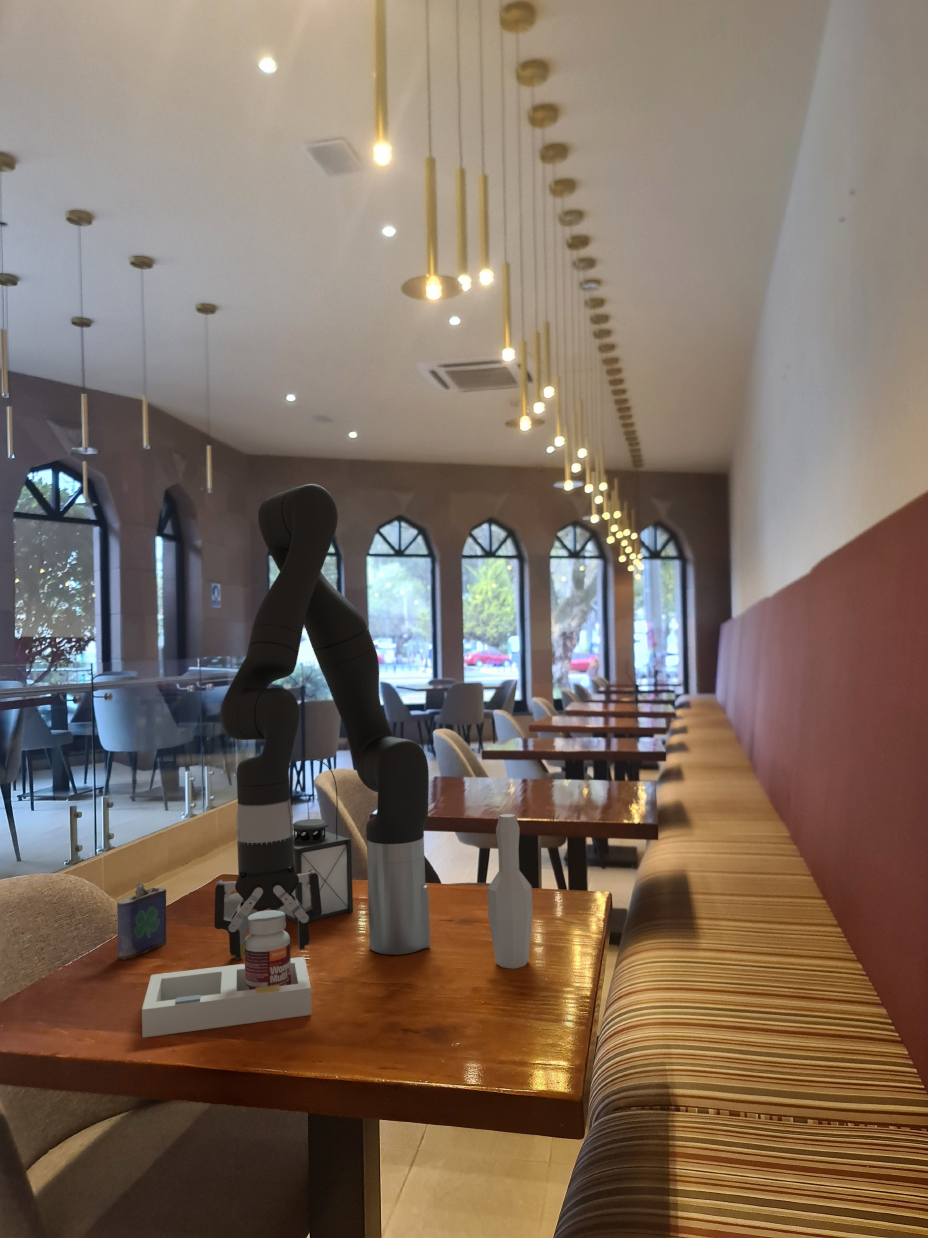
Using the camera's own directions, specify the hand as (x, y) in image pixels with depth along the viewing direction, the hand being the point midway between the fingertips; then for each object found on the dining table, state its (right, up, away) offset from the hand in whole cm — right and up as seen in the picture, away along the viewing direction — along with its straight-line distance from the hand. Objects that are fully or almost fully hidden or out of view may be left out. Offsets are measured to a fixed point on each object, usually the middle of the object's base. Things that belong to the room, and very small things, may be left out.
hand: (270, 953), depth 119 cm
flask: (-26, -8, +22) cm, 35 cm away
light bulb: (-9, -8, +17) cm, 21 cm away
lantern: (-1, -8, +40) cm, 41 cm away
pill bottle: (0, -7, 0) cm, 7 cm away
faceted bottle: (+34, -6, +12) cm, 36 cm away
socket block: (-5, -7, -1) cm, 9 cm away
